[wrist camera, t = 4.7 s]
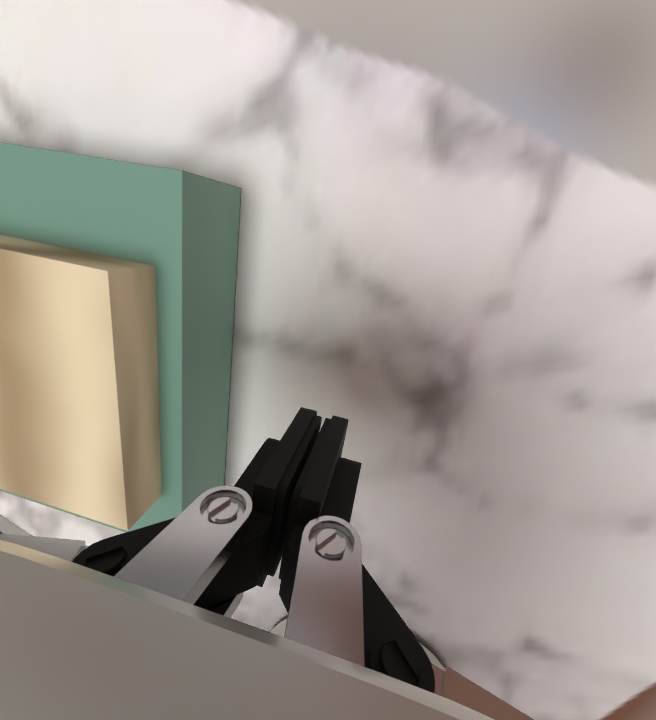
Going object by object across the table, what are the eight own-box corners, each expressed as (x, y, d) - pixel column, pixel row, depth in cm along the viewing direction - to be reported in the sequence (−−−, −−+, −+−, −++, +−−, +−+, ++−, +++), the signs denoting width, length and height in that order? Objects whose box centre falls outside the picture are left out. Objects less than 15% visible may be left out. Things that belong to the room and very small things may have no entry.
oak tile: (155, 266, 12) (107, 271, 10) (161, 495, 15) (127, 530, 13) (-38, 226, 13) (-112, 225, 11) (11, 449, 16) (-39, 475, 14)
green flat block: (241, 188, 14) (182, 170, 10) (223, 492, 20) (181, 550, 16) (-37, 144, 16) (-169, 116, 12) (21, 432, 22) (-57, 471, 18)
